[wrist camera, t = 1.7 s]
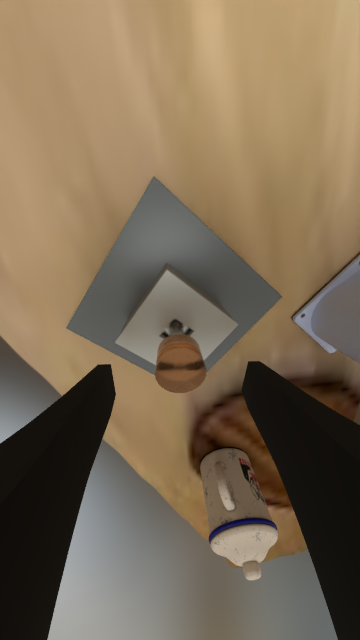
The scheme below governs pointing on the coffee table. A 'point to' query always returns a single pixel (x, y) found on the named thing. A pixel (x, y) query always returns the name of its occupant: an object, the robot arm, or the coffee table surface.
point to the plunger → (179, 360)
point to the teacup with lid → (236, 510)
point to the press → (170, 286)
